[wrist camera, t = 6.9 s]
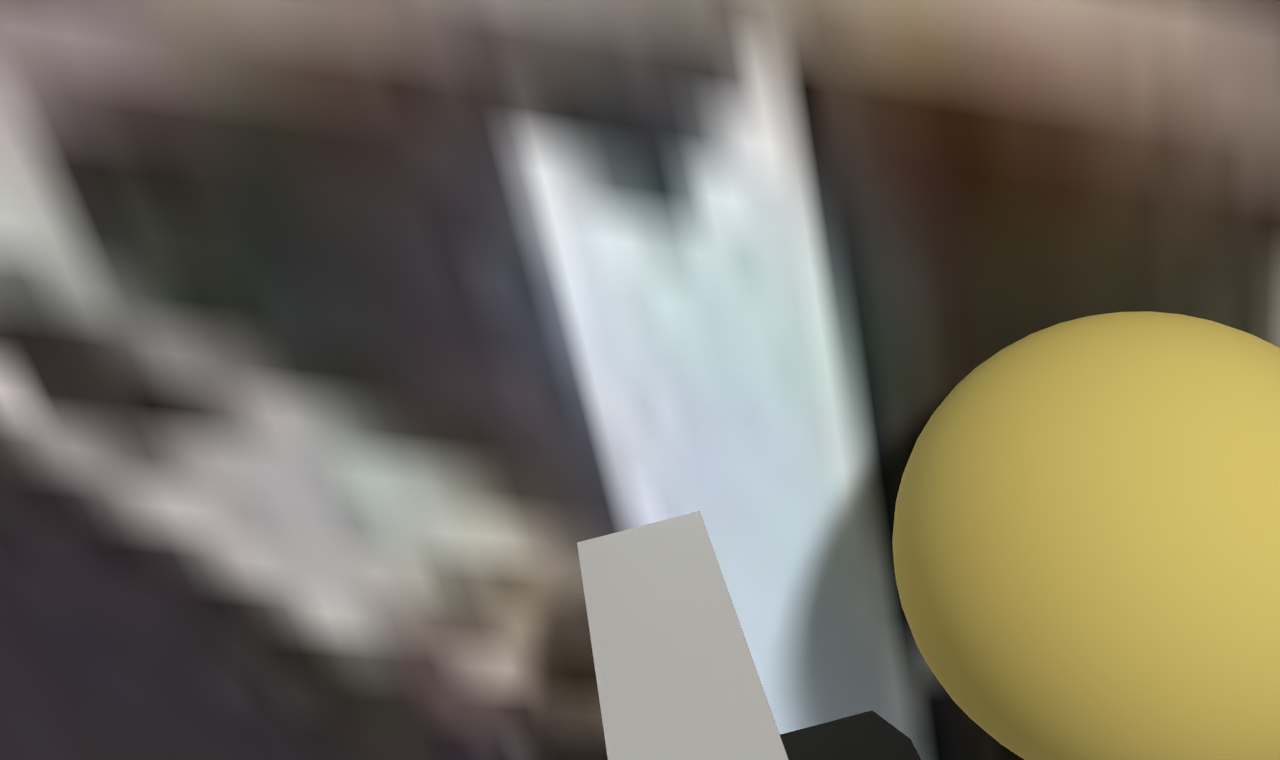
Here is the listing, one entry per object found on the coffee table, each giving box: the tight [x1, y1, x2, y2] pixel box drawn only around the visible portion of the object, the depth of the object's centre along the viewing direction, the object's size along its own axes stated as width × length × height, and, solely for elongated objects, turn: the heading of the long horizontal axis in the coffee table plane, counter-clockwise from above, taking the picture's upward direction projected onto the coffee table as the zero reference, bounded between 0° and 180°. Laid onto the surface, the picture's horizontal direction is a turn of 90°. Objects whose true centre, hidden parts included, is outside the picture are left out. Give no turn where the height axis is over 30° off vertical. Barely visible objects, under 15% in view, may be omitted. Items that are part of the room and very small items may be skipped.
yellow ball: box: [892, 311, 1280, 760], centre depth 14 cm, size 6×6×6 cm
